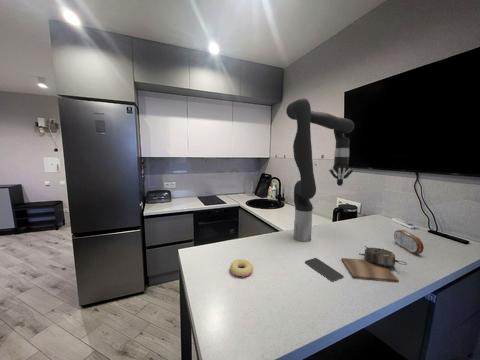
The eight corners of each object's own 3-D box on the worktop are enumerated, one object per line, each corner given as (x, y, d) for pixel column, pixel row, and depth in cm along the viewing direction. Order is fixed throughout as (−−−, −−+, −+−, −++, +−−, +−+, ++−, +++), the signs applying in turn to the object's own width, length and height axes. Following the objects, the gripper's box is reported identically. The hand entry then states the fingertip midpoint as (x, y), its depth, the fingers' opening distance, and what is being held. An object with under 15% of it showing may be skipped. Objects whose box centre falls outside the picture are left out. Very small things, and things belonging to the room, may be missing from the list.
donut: (246, 267, 88) (226, 269, 84) (246, 257, 88) (227, 259, 84) (256, 277, 78) (235, 280, 75) (257, 265, 79) (236, 267, 75)
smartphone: (332, 281, 74) (303, 261, 87) (331, 284, 74) (303, 262, 87) (345, 276, 77) (316, 257, 90) (345, 278, 77) (315, 259, 90)
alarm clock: (357, 257, 88) (401, 273, 75) (358, 246, 88) (402, 259, 75) (369, 254, 94) (411, 268, 80) (369, 243, 94) (412, 255, 80)
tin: (423, 256, 91) (425, 240, 89) (416, 256, 91) (418, 240, 90) (397, 242, 106) (399, 227, 104) (392, 242, 106) (393, 227, 104)
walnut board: (353, 278, 76) (353, 275, 76) (341, 260, 89) (341, 257, 88) (398, 282, 73) (398, 279, 73) (379, 262, 86) (380, 260, 86)
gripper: (331, 156, 110) (329, 186, 112) (356, 156, 108) (354, 186, 110) (327, 155, 117) (326, 184, 120) (351, 155, 115) (349, 184, 117)
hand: (339, 185), depth 115 cm, fingers closed
